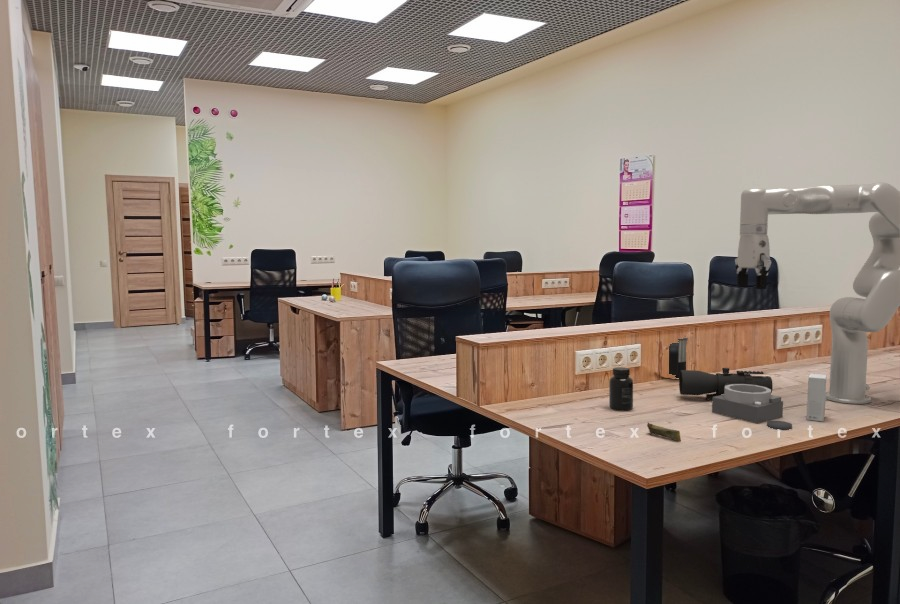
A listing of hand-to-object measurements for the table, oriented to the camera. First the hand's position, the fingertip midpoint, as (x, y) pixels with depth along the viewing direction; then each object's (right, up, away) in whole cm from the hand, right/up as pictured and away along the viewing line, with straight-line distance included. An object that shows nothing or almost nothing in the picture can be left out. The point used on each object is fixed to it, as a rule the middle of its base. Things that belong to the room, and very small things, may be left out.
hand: (751, 287), depth 197 cm
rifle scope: (-6, -35, +6) cm, 36 cm away
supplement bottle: (-40, -36, -3) cm, 54 cm away
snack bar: (-37, -39, -32) cm, 62 cm away
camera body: (-7, -36, -11) cm, 38 cm away
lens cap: (-3, -38, -23) cm, 45 cm away
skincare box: (+11, -37, -16) cm, 41 cm away
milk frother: (-7, -32, +37) cm, 49 cm away
